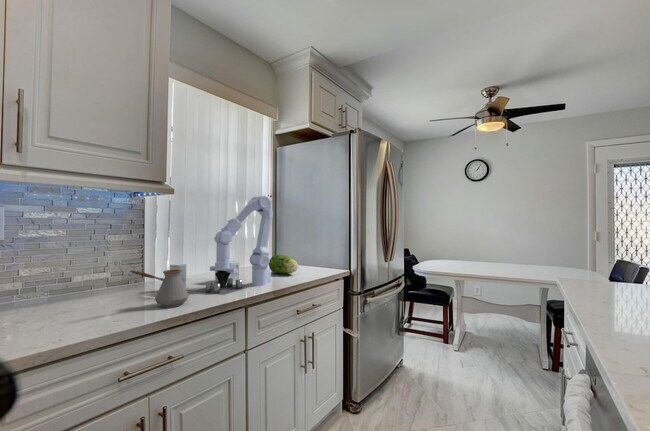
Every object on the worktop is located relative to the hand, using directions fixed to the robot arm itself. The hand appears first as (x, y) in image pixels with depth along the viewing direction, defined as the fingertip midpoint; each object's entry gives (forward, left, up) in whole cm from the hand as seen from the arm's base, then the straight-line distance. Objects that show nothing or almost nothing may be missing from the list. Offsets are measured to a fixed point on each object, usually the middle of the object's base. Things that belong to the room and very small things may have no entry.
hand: (222, 287), depth 142 cm
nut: (0, -4, -1) cm, 4 cm away
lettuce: (-51, -1, -2) cm, 51 cm away
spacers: (0, -2, -1) cm, 2 cm away
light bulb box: (-16, -13, -2) cm, 21 cm away
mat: (0, -2, -2) cm, 2 cm away
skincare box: (+8, -20, -2) cm, 21 cm away
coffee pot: (+31, -1, -2) cm, 31 cm away
